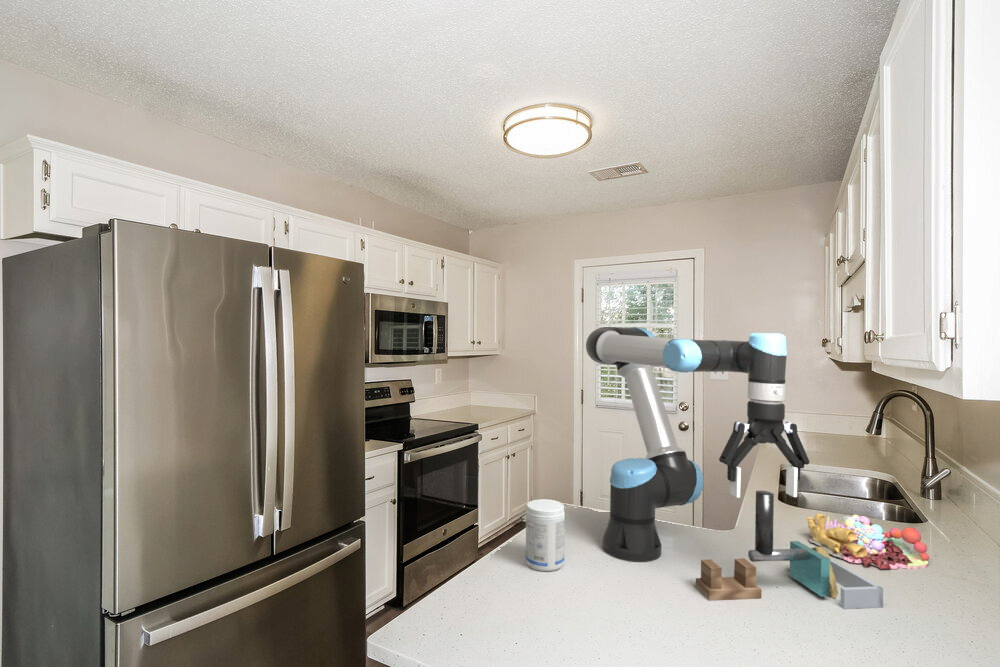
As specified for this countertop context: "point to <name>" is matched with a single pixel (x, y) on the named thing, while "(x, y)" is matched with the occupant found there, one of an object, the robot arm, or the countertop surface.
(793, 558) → the lever handle
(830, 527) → the colorful coral reef
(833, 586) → the rock
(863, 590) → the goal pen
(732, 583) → the rod stand
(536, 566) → the supplement tub
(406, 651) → the countertop surface
